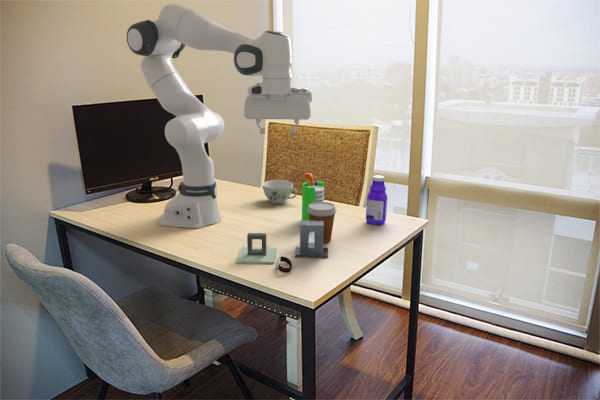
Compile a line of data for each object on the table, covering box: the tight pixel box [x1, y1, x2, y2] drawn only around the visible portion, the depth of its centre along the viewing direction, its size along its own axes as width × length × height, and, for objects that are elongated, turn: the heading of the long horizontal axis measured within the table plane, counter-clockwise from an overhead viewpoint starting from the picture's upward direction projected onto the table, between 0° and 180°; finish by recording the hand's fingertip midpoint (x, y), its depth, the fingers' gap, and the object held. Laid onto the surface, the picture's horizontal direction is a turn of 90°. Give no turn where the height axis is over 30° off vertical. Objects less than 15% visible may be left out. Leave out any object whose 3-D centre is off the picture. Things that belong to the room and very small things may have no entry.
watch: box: [275, 255, 293, 274], centre depth 137 cm, size 8×5×4 cm, turn 4°
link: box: [246, 232, 267, 256], centre depth 144 cm, size 6×2×6 cm, turn 88°
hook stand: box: [294, 220, 329, 259], centre depth 142 cm, size 10×15×10 cm, turn 178°
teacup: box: [262, 179, 298, 205], centre depth 196 cm, size 15×12×8 cm
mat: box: [235, 246, 278, 265], centre depth 146 cm, size 11×11×1 cm
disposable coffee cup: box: [307, 201, 337, 245], centre depth 156 cm, size 10×10×12 cm
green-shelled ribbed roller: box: [301, 172, 325, 221], centre depth 172 cm, size 9×8×18 cm
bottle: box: [365, 174, 388, 226], centre depth 172 cm, size 7×6×17 cm
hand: (277, 133), depth 148 cm, fingers open, 8 cm apart
